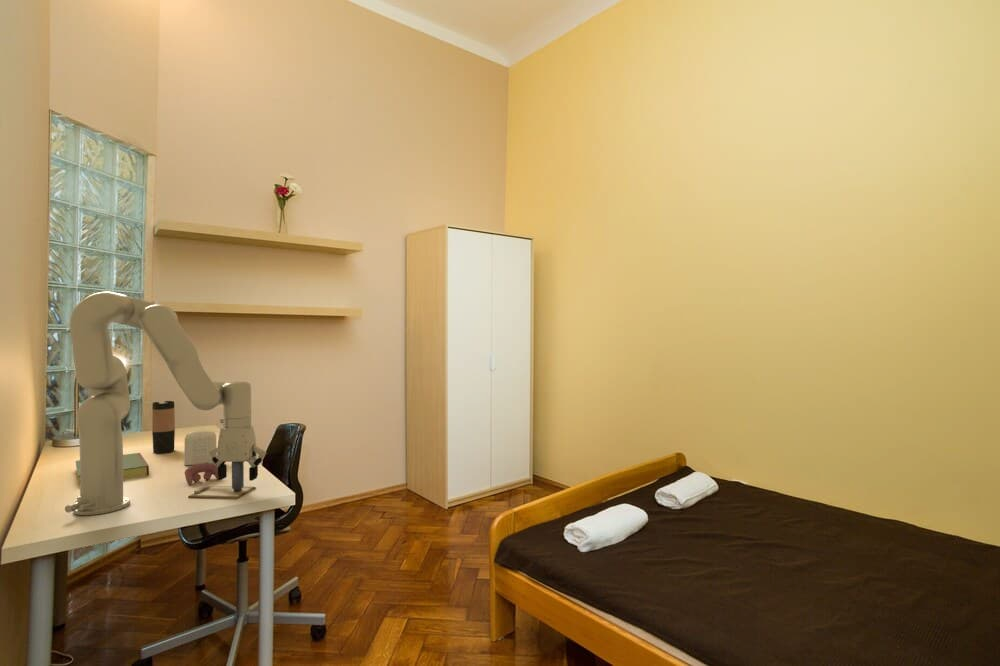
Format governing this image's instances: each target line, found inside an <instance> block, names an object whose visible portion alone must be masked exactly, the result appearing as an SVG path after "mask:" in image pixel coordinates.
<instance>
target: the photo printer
mask: <svg viewBox="0 0 1000 666" xmlns="http://www.w3.org/2000/svg"><path fill="white" fill-rule="evenodd" d="M215 448H217V434H216V432H215V431H214V430H206V429H199V430H192V431H191V432H187V433H186V434H185V437H184V455H183V456H184V457H183V458H184V463H183V464H184V466H185V465H187V466H192V465H195V464H198V463H204V462H206V463H211V462H212V463H214V462H213V461H212V458H211V456H210V454H209V452H210V451H212V450H213V449H215ZM214 464H215V463H214Z"/></svg>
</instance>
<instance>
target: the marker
mask: <svg viewBox="0 0 1000 666" xmlns="http://www.w3.org/2000/svg"><path fill="white" fill-rule="evenodd" d="M244 464H245V462H231V486H232V489H234V492H240V491H242V488H243V487H245V486H244V484H245V483H244V481H245V480H244V478H245V476H244V475H245V474H244V470H245V469H244V468H245V465H244Z"/></svg>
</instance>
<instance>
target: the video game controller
mask: <svg viewBox="0 0 1000 666" xmlns="http://www.w3.org/2000/svg"><path fill="white" fill-rule="evenodd" d="M200 473H204V474H203V475H202V476H201V475H200ZM212 475H213V476H214V477H215V479H217V480H218V467H217V466H216V464H215V463H212V462H211V463H206V462H204V463H198V464H195V465H189V467H187V468H186V469H185V470H184V478H185V481H186V483H187V484H188V486H192V485H193V482H195V483H197V481H198V482H200V480H201V479H202V477H203V479H204V480H205V479H209V480H210V479H211V478H212Z"/></svg>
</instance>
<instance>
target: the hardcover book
mask: <svg viewBox="0 0 1000 666" xmlns="http://www.w3.org/2000/svg"><path fill="white" fill-rule="evenodd" d="M75 467H76V475H78V476H77V480H78V482H79V483H78V482H77V483H78V486H79V485H80V459H79V460H75ZM149 469H150V466H149V464H148V462H147V461H146V459H145V458H144V457H143V455H142V453H141V452H136V453H135V452H134V453H127V454H123V480H125V479H124V478H126V479H130V478H131V477H132V478H138V477H137V476H139V477H143V476H142V475H145V476H150V475H149V474H150V471H149Z"/></svg>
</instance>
